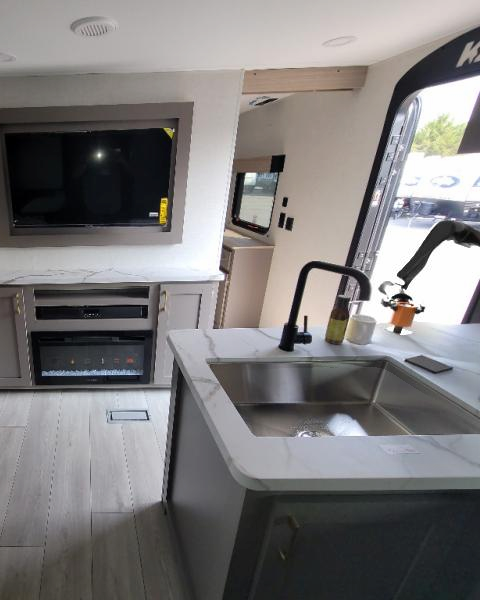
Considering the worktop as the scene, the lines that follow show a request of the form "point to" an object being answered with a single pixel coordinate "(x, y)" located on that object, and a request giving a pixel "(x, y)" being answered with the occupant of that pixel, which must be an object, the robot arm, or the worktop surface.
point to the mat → (428, 364)
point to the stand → (398, 327)
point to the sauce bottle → (338, 321)
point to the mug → (360, 329)
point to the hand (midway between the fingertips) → (406, 310)
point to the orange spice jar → (403, 314)
